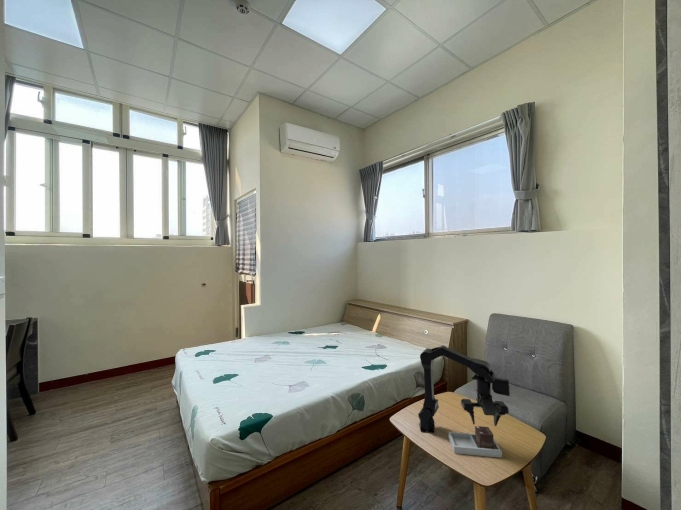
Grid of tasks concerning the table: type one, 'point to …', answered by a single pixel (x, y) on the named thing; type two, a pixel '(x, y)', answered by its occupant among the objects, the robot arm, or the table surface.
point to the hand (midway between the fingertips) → (484, 424)
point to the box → (484, 437)
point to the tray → (471, 445)
